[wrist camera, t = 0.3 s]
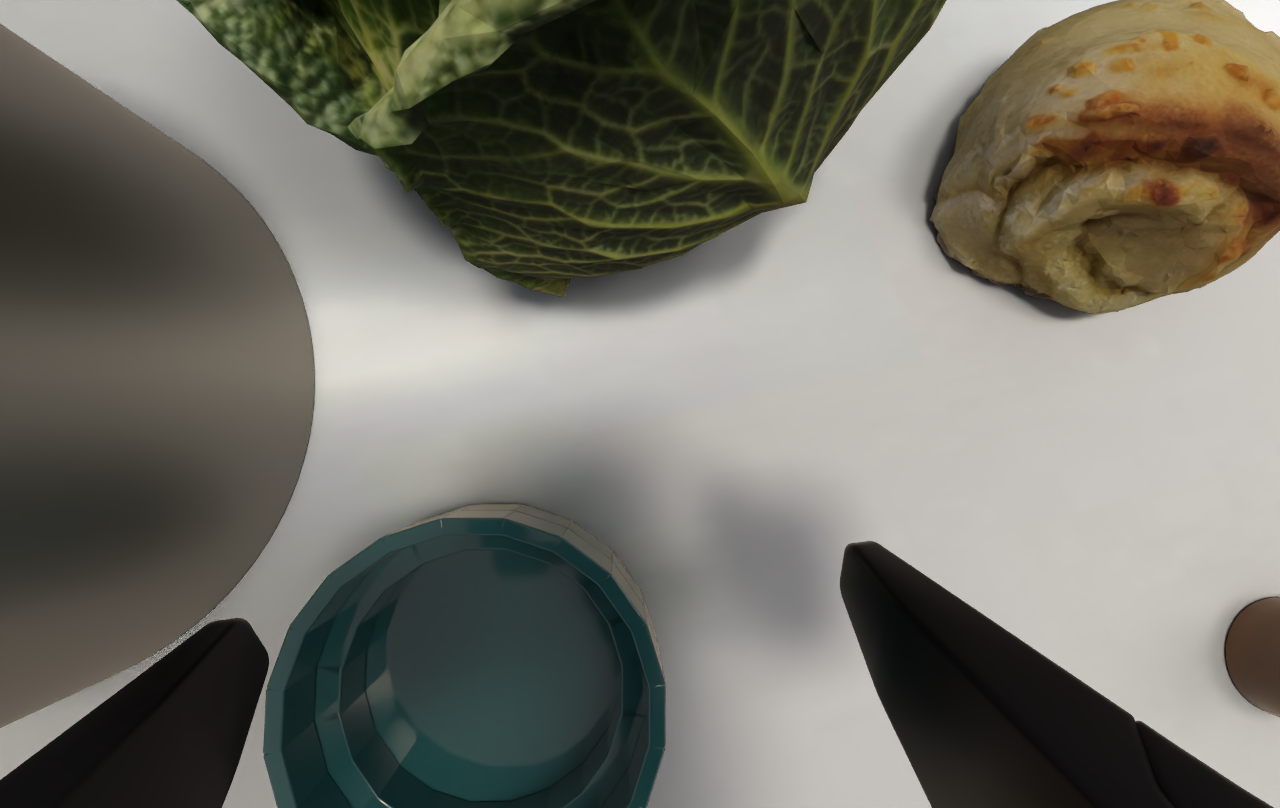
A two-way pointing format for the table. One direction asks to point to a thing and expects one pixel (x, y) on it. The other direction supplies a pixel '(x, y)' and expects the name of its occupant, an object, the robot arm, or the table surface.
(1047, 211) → the pastry
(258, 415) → the container
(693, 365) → the table surface
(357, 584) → the bowl
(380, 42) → the vegetable
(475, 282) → the table surface
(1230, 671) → the rounded top peg stand
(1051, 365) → the table surface
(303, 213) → the table surface
